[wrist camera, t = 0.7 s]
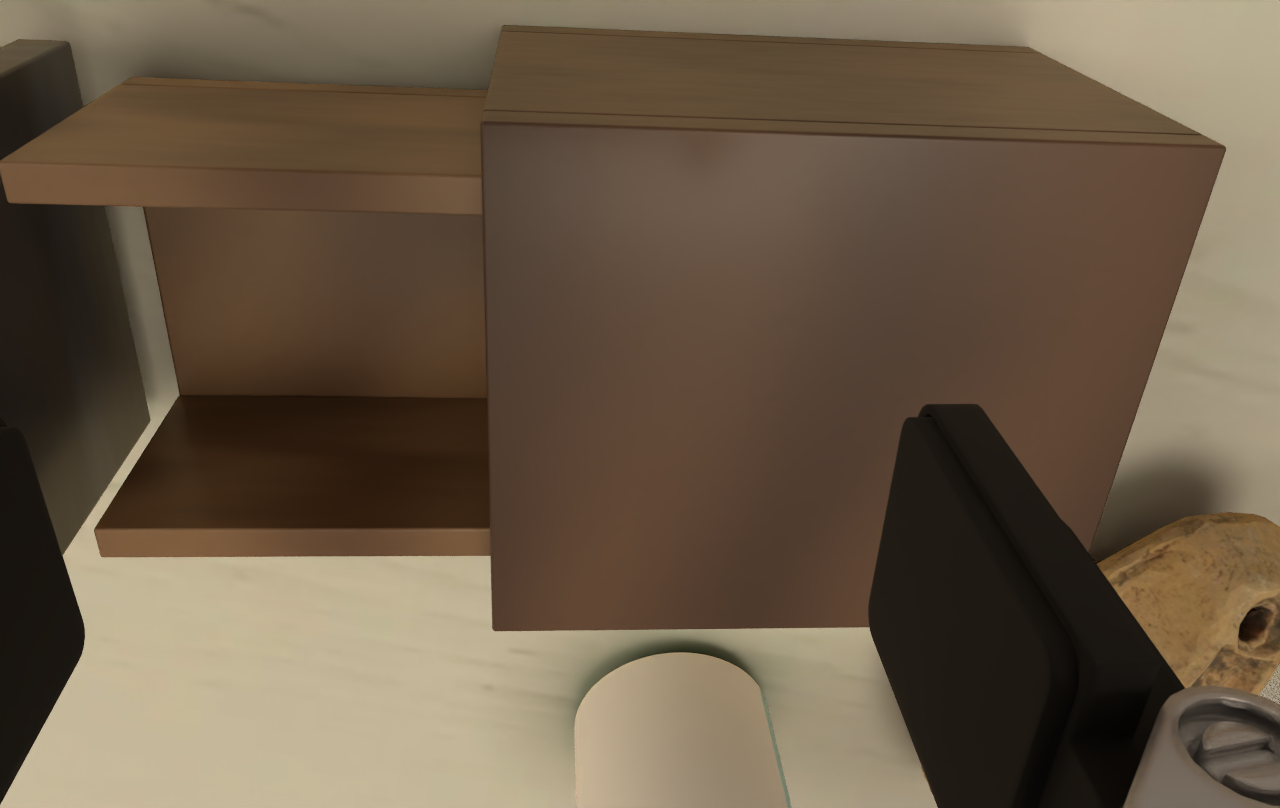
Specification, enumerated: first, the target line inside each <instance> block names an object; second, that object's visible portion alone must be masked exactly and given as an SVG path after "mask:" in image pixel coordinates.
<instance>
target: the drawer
mask: <svg viewBox="0 0 1280 808" xmlns="http://www.w3.org/2000/svg"><path fill="white" fill-rule="evenodd" d="M487 92H488V90H473V89H445V88H418V87H390V86H363V85H335V84H307V83H280V82H252V81H225V80H197V79H169V78H142V77H132V78H129V79H128V80H126V81H125V82H123V83H122V84H120V85H117V86H116V87H114V88H113V89H111V90H110V91H108V92H106V93H105V94H103V95H102V96H100V97H99V98H97V99H96V100H94V101H92V102H91V103H89V104H88V105H86V106H85V107H83V103H82V98H81V93H80V89H79V84H78V79H77V75H76V70H75V65H74V61H73V56H72V51H71V47H70V43H69V42H67V41H51V40H26V39H19V40H16V41H14V42H12V43H9V44H7V45H5V46H2V47H0V417H1V419H2V420H3V421H4V422H5V423H6V425H7V427H15V428H17V429H19V430H20V431H21V433H22V434H23V435H24V438H25V440H26V443H27V446H28V449H29V452H30V455H31V458H32V461H33V465H34V468H35V471H36V474H37V477H38V480H39V484H40V487H41V490H42V493H43V496H44V499H45V503H46V506H47V509H48V512H49V515H50V518H51V522H52V525H53V528H54V531H55V534H56V537H57V540H58V544H59V547H60V550H61V553H62V555H63V554H64V552H65V551H66V549H67V548H68V546H69V545H70V543H71V542H72V540H73V539H74V537H75V536H76V534H77V533H78V531H79V529H80V528H81V526H82V525H83V523H84V522H85V520H86V519H87V517H88V516H89V514H90V513H91V511H92V510H93V508H94V507H95V505H96V503H97V502H98V500H99V499H100V497H101V496H102V494H103V493H104V491H105V490H106V488H107V487H108V485H109V484H110V482H111V481H112V479H113V477H114V476H115V474H116V473H117V471H118V470H119V468H120V467H121V465H122V464H123V462H124V461H125V459H126V458H127V456H128V455H129V453H130V452H131V450H132V448H133V447H134V445H135V444H136V442H137V441H138V439H139V438H140V436H141V435H142V433H143V432H144V430H145V429H146V427H147V426H148V424H149V422H150V415H149V411H148V406H147V401H146V397H145V392H144V387H143V383H142V378H141V373H140V369H139V364H138V359H137V355H136V350H135V345H134V341H133V336H132V331H131V327H130V322H129V317H128V313H127V308H126V303H125V299H124V294H123V289H122V285H121V280H120V275H119V271H118V266H117V261H116V257H115V252H114V247H113V243H112V238H111V233H110V229H109V224H108V219H107V215H106V210H105V206H134V207H143V209H144V214H145V219H146V224H147V229H148V235H149V240H150V245H151V250H152V255H153V260H154V265H155V270H156V276H157V281H158V286H159V291H160V296H161V301H162V306H163V312H164V317H165V322H166V327H167V332H168V337H169V342H170V347H171V353H172V358H173V363H174V368H175V373H176V378H177V383H178V388H179V394H180V396H179V397H178V398H177V400H176V401H175V403H174V404H173V406H172V407H171V409H170V411H169V412H168V414H167V415H166V417H165V418H164V420H163V422H162V423H161V425H160V426H159V428H158V429H157V431H156V433H155V434H154V436H153V437H152V439H151V441H150V442H149V444H148V445H147V447H146V448H145V450H144V452H143V453H142V455H141V456H140V458H139V459H138V461H137V463H136V464H135V466H134V467H133V469H132V470H131V472H130V474H129V475H128V477H127V478H126V480H125V482H124V483H123V485H122V486H121V488H120V489H119V491H118V493H117V494H116V496H115V497H114V499H113V500H112V502H111V504H110V505H109V507H108V508H107V510H106V511H105V513H104V515H103V516H102V518H101V519H100V521H99V522H98V524H97V526H96V527H95V529H94V532H95V536H96V540H97V544H98V547H99V551H100V555H101V557H271V556H491V549H490V508H489V467H488V425H487V384H486V343H485V302H484V261H483V220H482V179H481V137H480V123H481V119H482V114H483V109H484V105H485V100H486V96H487Z"/></svg>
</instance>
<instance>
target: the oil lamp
mask: <svg viewBox="0 0 1280 808" xmlns="http://www.w3.org/2000/svg"><path fill="white" fill-rule="evenodd" d="M1097 566H1098V567H1099V568H1100V570H1101V571H1102V573H1103V574H1104V575H1105V577H1106V578H1107V579H1108V581H1109V582H1110V584H1111V585H1112V586H1113V588H1114V589H1115V591H1116V592H1117V593H1118V595H1119V596H1120V598H1121V599H1122V600H1123V602H1124V603H1125V605H1126V606H1127V607H1128V609H1129V610H1130V612H1131V613H1132V614H1133V616H1134V617H1135V619H1136V620H1137V621H1138V623H1139V624H1140V626H1141V627H1142V628H1143V630H1144V631H1145V633H1146V634H1147V635H1148V637H1149V638H1150V640H1151V641H1152V642H1153V644H1154V645H1155V646H1156V648H1157V649H1158V651H1159V652H1160V653H1161V655H1162V656H1163V658H1164V659H1165V660H1166V662H1167V663H1168V665H1169V666H1170V667H1171V669H1172V670H1173V672H1174V673H1175V674H1176V676H1177V677H1178V679H1179V680H1180V681H1181V683H1182V684H1183V686H1184V687H1185V688H1188V687H1198V686H1207V685H1213V686H1220V687H1228V688H1236V689H1240V690H1243V691H1246V692H1249V693H1252V694H1255V695H1258V694H1259V693H1260V692H1261V690H1262V689H1263V688H1264V687H1265V686H1266V684H1267V683H1268V682H1269V681H1270V679H1271V678H1272V676H1273V674H1274V672H1275V671H1276V669H1277V667H1278V665H1279V663H1280V527H1279V526H1277V525H1276V524H1274V523H1272V522H1271V521H1269V520H1268V519H1266V518H1264V517H1261V516H1258V515H1255V514H1245V513H1232V512H1225V513H1215V514H1206V515H1196V516H1187V517H1185V518H1182V519H1180V520H1178V521H1176V522H1173V523H1171V524H1169V525H1166V526H1164V527H1162V528H1160V529H1158V530H1156V531H1154V532H1153V533H1151V534H1149V535H1147V536H1145V537H1144V538H1142V539H1140V540H1138V541H1136V542H1135V543H1133V544H1131V545H1129V546H1128V547H1126V548H1124V549H1122V550H1120V551H1119V552H1117V553H1115V554H1114V555H1112V556H1110V557H1108V558H1107V559H1105V560H1103V561H1101V562H1099V563H1097ZM922 770H923V767H922ZM923 773H924V770H923ZM924 776H925V778H926V775H925V773H924ZM926 780H927V778H926ZM927 782H928V780H927ZM928 784H929V783H928ZM929 787H930V786H929ZM930 790H931V788H930ZM931 792H932V791H931ZM932 794H933V793H932Z"/></svg>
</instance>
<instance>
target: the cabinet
mask: <svg viewBox="0 0 1280 808" xmlns="http://www.w3.org/2000/svg"><path fill="white" fill-rule="evenodd" d="M480 137H481V179H482V220H483V261H484V302H485V343H486V384H487V425H488V467H489V508H490V549H491V590H492V628H493V630H494V631H555V630H648V629H742V628H835V627H870V626H869V618H868V605H869V598H870V593H871V588H872V582H873V577H874V572H875V566H876V561H877V556H878V551H879V545H880V540H881V535H882V530H883V524H884V519H885V514H886V508H887V503H888V498H889V493H890V487H891V482H892V477H893V471H894V466H895V461H896V456H897V450H898V445H899V440H900V435H901V430H902V426H903V423H904V421H905V419H907V418H908V417H918V415H919V412H920V410H921V409H922V407H923V406H925V405H926V404H978V405H979V406H980V407H981V408H982V409H983V410H984V412H985V413H986V414H987V416H988V417H989V419H990V420H991V422H992V423H993V424H994V426H995V427H996V429H997V430H998V431H999V433H1000V434H1001V436H1002V437H1003V438H1004V440H1005V441H1006V443H1007V444H1008V445H1009V447H1010V448H1011V450H1012V451H1013V452H1014V454H1015V455H1016V457H1017V458H1018V459H1019V461H1020V462H1021V464H1022V465H1023V466H1024V468H1025V469H1026V471H1027V472H1028V473H1029V475H1030V476H1031V478H1032V479H1033V481H1034V482H1035V483H1036V485H1037V486H1038V488H1039V489H1040V490H1041V492H1042V493H1043V495H1044V496H1045V497H1046V499H1047V500H1048V502H1049V503H1050V504H1051V506H1052V507H1053V509H1054V510H1055V511H1056V513H1057V514H1058V516H1059V517H1060V518H1061V520H1063V521H1064V522H1065V523H1066V524H1067V525H1068V526H1069V527H1070V528H1071V529H1072V531H1073V532H1074V533H1075V535H1076V536H1077V538H1078V539H1079V540H1080V542H1081V543H1082V545H1083V546H1084V547H1085V549H1086V550H1087V552H1088V553H1089V551H1090V548H1091V545H1092V542H1093V539H1094V536H1095V533H1096V530H1097V527H1098V524H1099V522H1100V519H1101V516H1102V513H1103V510H1104V507H1105V504H1106V501H1107V498H1108V495H1109V492H1110V489H1111V486H1112V483H1113V480H1114V477H1115V475H1116V472H1117V469H1118V466H1119V463H1120V460H1121V457H1122V454H1123V451H1124V448H1125V445H1126V442H1127V439H1128V436H1129V433H1130V430H1131V427H1132V425H1133V422H1134V419H1135V416H1136V413H1137V410H1138V407H1139V404H1140V401H1141V398H1142V395H1143V392H1144V389H1145V386H1146V383H1147V380H1148V377H1149V375H1150V372H1151V369H1152V366H1153V363H1154V360H1155V357H1156V354H1157V351H1158V348H1159V345H1160V342H1161V339H1162V336H1163V333H1164V330H1165V328H1166V325H1167V322H1168V319H1169V316H1170V313H1171V310H1172V307H1173V304H1174V301H1175V298H1176V295H1177V292H1178V289H1179V286H1180V283H1181V280H1182V278H1183V275H1184V272H1185V269H1186V266H1187V263H1188V260H1189V257H1190V254H1191V251H1192V248H1193V245H1194V242H1195V239H1196V236H1197V233H1198V230H1199V228H1200V225H1201V222H1202V219H1203V216H1204V213H1205V210H1206V207H1207V204H1208V201H1209V198H1210V195H1211V192H1212V189H1213V186H1214V183H1215V180H1216V178H1217V175H1218V172H1219V169H1220V166H1221V163H1222V160H1223V157H1224V154H1225V151H1226V147H1225V146H1223V145H1221V144H1219V143H1217V142H1215V141H1213V140H1211V139H1209V138H1208V137H1206V136H1204V135H1202V134H1200V133H1198V132H1196V131H1194V130H1192V129H1190V128H1188V127H1186V126H1184V125H1182V124H1180V123H1178V122H1176V121H1174V120H1172V119H1170V118H1168V117H1166V116H1164V115H1162V114H1160V113H1158V112H1156V111H1154V110H1152V109H1150V108H1148V107H1146V106H1145V105H1143V104H1141V103H1139V102H1137V101H1135V100H1133V99H1131V98H1129V97H1127V96H1125V95H1123V94H1121V93H1119V92H1117V91H1115V90H1113V89H1111V88H1109V87H1107V86H1105V85H1103V84H1101V83H1099V82H1097V81H1095V80H1093V79H1091V78H1089V77H1087V76H1085V75H1083V74H1081V73H1079V72H1077V71H1075V70H1073V69H1071V68H1069V67H1067V66H1065V65H1063V64H1061V63H1059V62H1057V61H1055V60H1053V59H1051V58H1049V57H1047V56H1045V55H1043V54H1041V53H1039V52H1037V51H1035V50H1033V49H1031V48H1029V47H1012V46H988V45H965V44H941V43H917V42H893V41H869V40H845V39H821V38H798V37H774V36H750V35H726V34H702V33H678V32H655V31H631V30H607V29H583V28H559V27H535V26H511V25H504V26H502V30H501V34H500V39H499V43H498V48H497V52H496V56H495V61H494V65H493V70H492V74H491V78H490V83H489V87H488V92H487V96H486V100H485V105H484V109H483V114H482V119H481V123H480Z"/></svg>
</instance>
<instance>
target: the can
mask: <svg viewBox="0 0 1280 808" xmlns="http://www.w3.org/2000/svg"><path fill="white" fill-rule="evenodd" d="M574 735H575V778H576V808H792V806H791V802H790V798H789V794H788V790H787V785H786V781H785V777H784V773H783V769H782V765H781V760H780V756H779V752H778V748H777V744H776V739H775V735H774V731H773V727H772V723H771V719H770V714H769V710H768V706H767V702H766V699H765V697H764V694H763V692H762V690H761V689H760V687H759V686H758V684H757V683H756V682H755V681H754V680H753V679H752V678H751V677H750V676H749V675H748V674H747V673H746V672H744V671H743V670H742V669H740V668H738V667H737V666H735V665H733V664H731V663H729V662H727V661H724V660H722V659H719V658H716V657H712V656H708V655H703V654H696V653H683V652H681V653H664V654H658V655H652V656H648V657H644V658H641V659H637V660H634V661H632V662H629V663H627V664H625V665H623V666H621V667H619V668H617V669H615V670H613V671H612V672H610V673H608V674H607V675H606V676H604V677H603V678H602V679H601V680H599V681H598V682H597V683H596V684H595V685H594V686H593V687H592V688H591V689H590V690H589V692H588V693H587V694H586V696H585V697H584V699H583V700H582V702H581V704H580V706H579V708H578V711H577V714H576V718H575V725H574Z"/></svg>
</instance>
